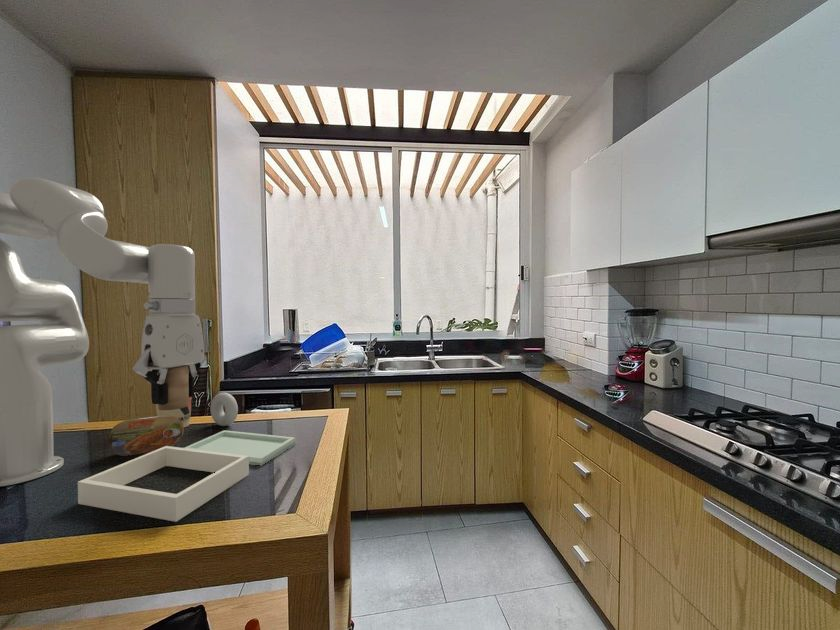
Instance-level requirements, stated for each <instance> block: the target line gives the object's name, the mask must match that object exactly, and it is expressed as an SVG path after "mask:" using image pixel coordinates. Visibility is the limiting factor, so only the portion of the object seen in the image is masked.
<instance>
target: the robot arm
mask: <svg viewBox="0 0 840 630" xmlns="http://www.w3.org/2000/svg"><path fill="white" fill-rule="evenodd" d="M108 227H109V225H108V220H107V218H106V217H105V210H104V206H103V204H102V202H101V201H100V200H99V199H98V198H97V196H96V195H94V194H92V193H90V192H88V191H86V190H82V189H80V188H75V187H73V186H69V185H66V184H63V183H59V182H58V181H57V182H56V181H53V180H49V179H46V178H41V177H25V178H21V179H18V180H17V181H15V182H13V184H11V186H10V188H9V194H8V193H7V192H6V193H5V192H1V191H0V234H6V235H11V236H15V237H16V236H17V237H23V238H31V239H37V240H47V241H48V240H56V245H57V249H58V250H59V253H60V254H61V256H62V257H63V258H64V259H65V260H66V261H67V262H69V263H71V264H72V265H73V266H75V267H76V268H78V269H79V270H80V271H82V272H84V273H85V274H87V275H89V276H91V277H94V278H96V279H99V280H102V281H111V282H123V283H124V282H125V283H136V284H147V285H148V301H147V302H144V303H143V308H144V309H145V310H148V315H146V316H145V319H144V324H143V328H142V335H141V336H142V337H141V347H140V352H141V353H140V354H141V355H140V357H139V358H138V359H137V361H136V362H135V364H134V365H133V366H132V371H133V372H135V373H136V374H137V375H140V376H141V377H142V378H143V379H145V380H146V381H147V383H148V384H150V389H151V391H150V393H151V395H150V396H151V397H150V398H151V404H153V405H156V404H160V405H165V404H167V403H168V384H167V383H164V382H165V378H166V374H167V370H168V368H173V367H178V366H184V365H188V368H189V397H192V398H193V397H195V380H194V379H195V377H196V376H198V375H197V374H198V371H199V370H200V369H201V366H202V365H203V364H204V363H205V361H206V360H207V359H208V358H207V355H206V354H205V347H204V344H205V342H204V334H203V327H202V322H201V319H200V316H199V315H198V314H196V270H195V269H196V255H195V252H194V250H193V249H191V247H188V246H184V245H179V244H172V243H171V244H170V243H159V244H158V243H157V244H153V245H151V246H145V245H140V244H136V243H130V242H126V241H121V240H113V239H110V238H108V237H106V234H107V232H108ZM22 262H23V261H22V259H21V258H20V256H19V254H18V253H17V252H16V251H15V249H13V248H12V247H11V245H9V244H8V243H7V242H5V241H4V240H3V239H2V238H0V322H28V321H33V322H34V321H39V322H40V324H39V323H38V324H37V323H36V324H35V323H34V324H32V323H31V324H12V325H4V326H3V325H2V326H0V488H1V487H6V486H12V485H13V486H14V485H17V484H21V483H22V484H23V483H24V482H25V483H26V482H29V481H33V480H36V479H39V478H42V477H44V476H47V475H49V474H51V473H53V472H56V471H58V470H59V469H60V468H62V467H63V466H64V463H65V460H64V458H63V457H61V456H60V455H59V456H58V455H54V451H55V450H54V410H53V409H54V407H53V406H54V405H53V401H54V399H53V397H54V396H53V388H52V384H51V383H50V381H49V380H48V378H47V377H46V376H45V375H44V374H43V373H42V372H41V371H40V368H41V369H42V368H45V367H46V368H47V367H52V366H53V367H54V366H59V365H61V366H62V365H66V364H72V363H76V362H77V361H80V360H83V358H84V357H86V355H87V354H88V352H89V349H90V348H89V347H90V338H89V334H88V330H87V328H86V325H85V322H84V318H83V316H82V312H81V309H80V306H79V303H78V299H77V297H76V295H75V293H74V292H73V291H72V290H71V288H70V287H68V286H67V285H66V284H65V283H62V282H61V281H56V280H52V279H43V278H41V279H40V278H32V277H29V276H28V275H27V273H26V271H25V269H24V267H23V263H22ZM149 368H150V369H149ZM158 370H159V373H158Z"/></svg>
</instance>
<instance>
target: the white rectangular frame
mask: <svg viewBox="0 0 840 630" xmlns="http://www.w3.org/2000/svg"><path fill="white" fill-rule="evenodd" d="M164 467H173V468H179V469H185V470H186V469H187V470H194V471H203V472H207V473H208V472H210V473H211V474H209V475H208V476H206V477H204V478H203V479H201V480H199V481H197V482H194V484H192V485H190V486H189V487H187V488H185V489H183V490H181V491H179V492H177V493H173V492H166V491H159V490H153V489H148V488H147V489H146V488H141V487H135V486H128V485H127V484H129V483H131V482H134V481H136V480H139V479H141V478H143V477H144V476H146V475H149V474H151V473H153V472H155V471H157V470H160V469H162V468H164ZM214 472H215V473H214ZM249 474H250V465H249V456H245V455H237V454H228V453H220V452H212V451H204V450H195V449H187V448H185V447H178V446H174V447H171V446H165V447H162V448H160V449H157V450H155V451H152V452H150V453H144V454H143V455H140V456H138V457H135V458H134V459H133V458H132V459H131V460H128V461H125V462H124V463H121V464H118V465H116V466H114V467H110V468H108V469H106V470H104V471H101V472H99V473H96V474H94V475H91V476H89V477H87V478H83V479H81V480H79V481H77V504H78V505H83V506H89V507H94V508H99V509H105V510H111V511H117V512H121V513H127V514H131V515H137V516H142V517H143V516H144V517H148V518H149V517H150V518H154V519H158V520H165V521H169V522H170V521H171V522H175V523H176V522H178V521H180V520H181V519H183V518H184V517H186V516H187V515H189V514H191V513H193V512H194V511H195V510H197V509H198V508H200V507H201V506H203V505H204V504H206V503H208V502H209V501H210V500H213V498H215V497H217V496H218V495H220V494H221V493H223V492H224V491H226V490H228V489H229V488H231V487H232V486H234V485H236V484H237V483H238V482H240V481H241V480H243V479H245V478H247V476H249Z"/></svg>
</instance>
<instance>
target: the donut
mask: <svg viewBox="0 0 840 630" xmlns="http://www.w3.org/2000/svg"><path fill="white" fill-rule="evenodd" d="M209 407H210V415H211V418H212V420H213V421H214V422H215V424H217V425H218V426H221V427H228V426H230V425H232V424H233V423H234V422H235V421H236V419H237V416H238V415H239V414H238V413H239V407H238V403H237V400H236V399H235V397H234V396H233V395H232V394H230V393H228V392H220V393H218V394H216V395H215V396H214V397H213V398H212V400H211V403H210V406H209Z"/></svg>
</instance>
